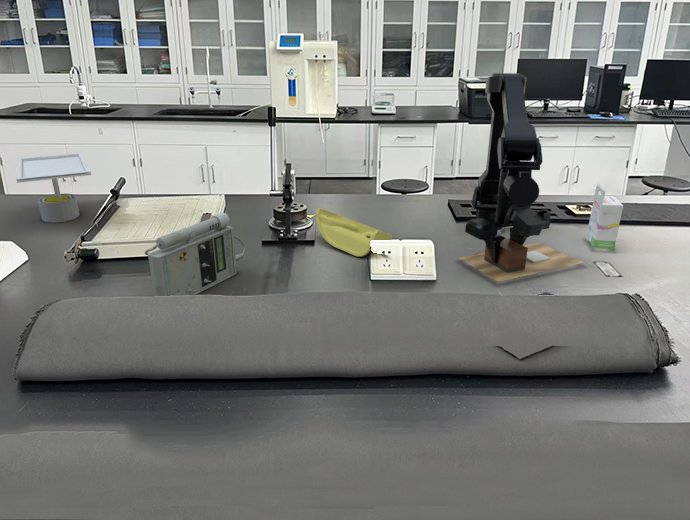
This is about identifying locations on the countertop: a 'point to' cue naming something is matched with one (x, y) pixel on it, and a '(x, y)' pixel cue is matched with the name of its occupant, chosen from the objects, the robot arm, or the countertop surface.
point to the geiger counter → (194, 257)
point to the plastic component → (348, 233)
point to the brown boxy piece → (509, 256)
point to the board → (499, 275)
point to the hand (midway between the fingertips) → (503, 260)
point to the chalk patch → (536, 257)
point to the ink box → (604, 220)
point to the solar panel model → (54, 182)
